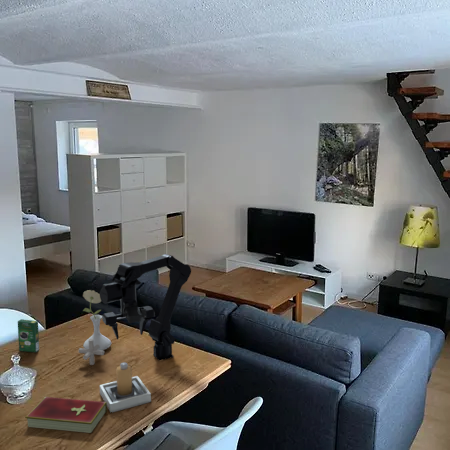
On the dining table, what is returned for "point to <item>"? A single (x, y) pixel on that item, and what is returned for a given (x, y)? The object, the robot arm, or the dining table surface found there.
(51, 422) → the hardcover book
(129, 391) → the beige bottle
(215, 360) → the dining table surface
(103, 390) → the box
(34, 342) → the coffee box
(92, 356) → the pipe connector
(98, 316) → the flower in vase
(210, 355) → the dining table surface
